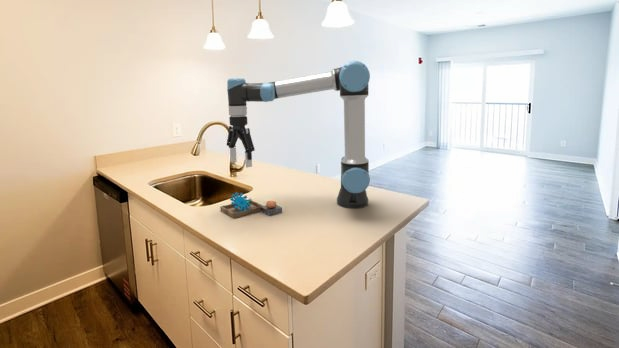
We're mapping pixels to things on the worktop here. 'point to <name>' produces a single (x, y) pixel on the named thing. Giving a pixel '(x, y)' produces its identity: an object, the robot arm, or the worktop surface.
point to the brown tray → (236, 213)
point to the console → (271, 210)
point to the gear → (240, 202)
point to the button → (271, 204)
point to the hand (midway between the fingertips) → (241, 164)
